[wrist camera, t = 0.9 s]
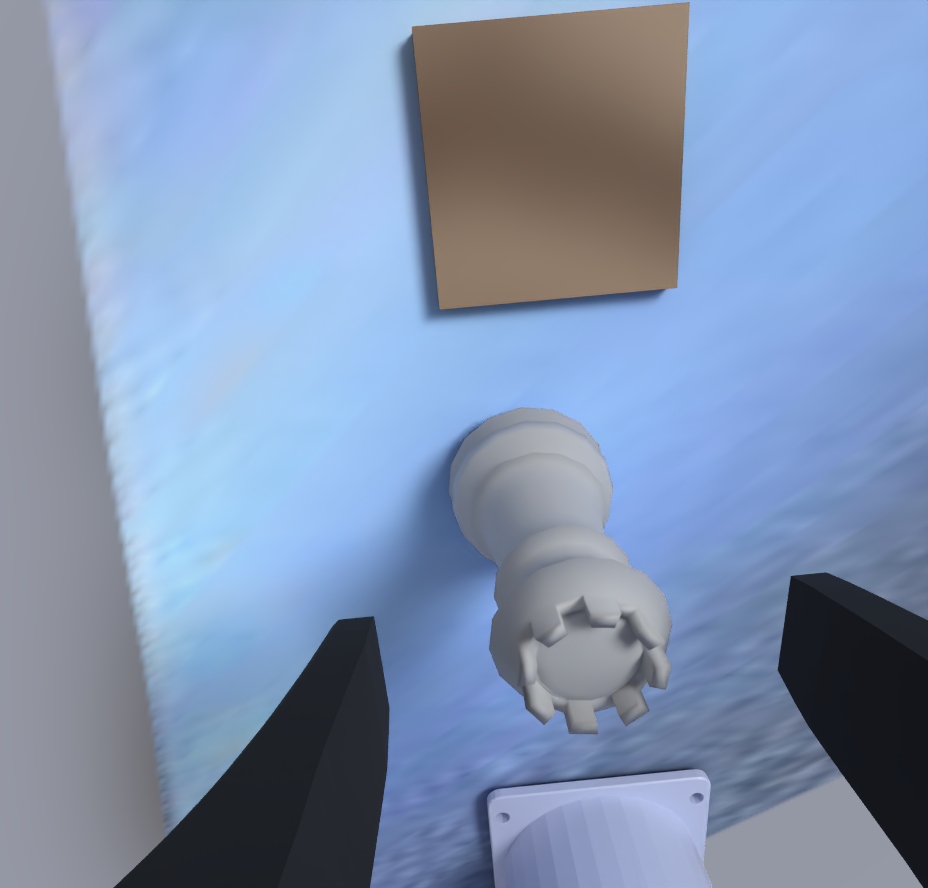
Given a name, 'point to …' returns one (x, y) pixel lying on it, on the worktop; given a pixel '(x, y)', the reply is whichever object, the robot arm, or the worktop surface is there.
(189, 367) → the worktop surface
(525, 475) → the rook chess piece
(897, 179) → the worktop surface
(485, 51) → the walnut tile
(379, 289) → the worktop surface
